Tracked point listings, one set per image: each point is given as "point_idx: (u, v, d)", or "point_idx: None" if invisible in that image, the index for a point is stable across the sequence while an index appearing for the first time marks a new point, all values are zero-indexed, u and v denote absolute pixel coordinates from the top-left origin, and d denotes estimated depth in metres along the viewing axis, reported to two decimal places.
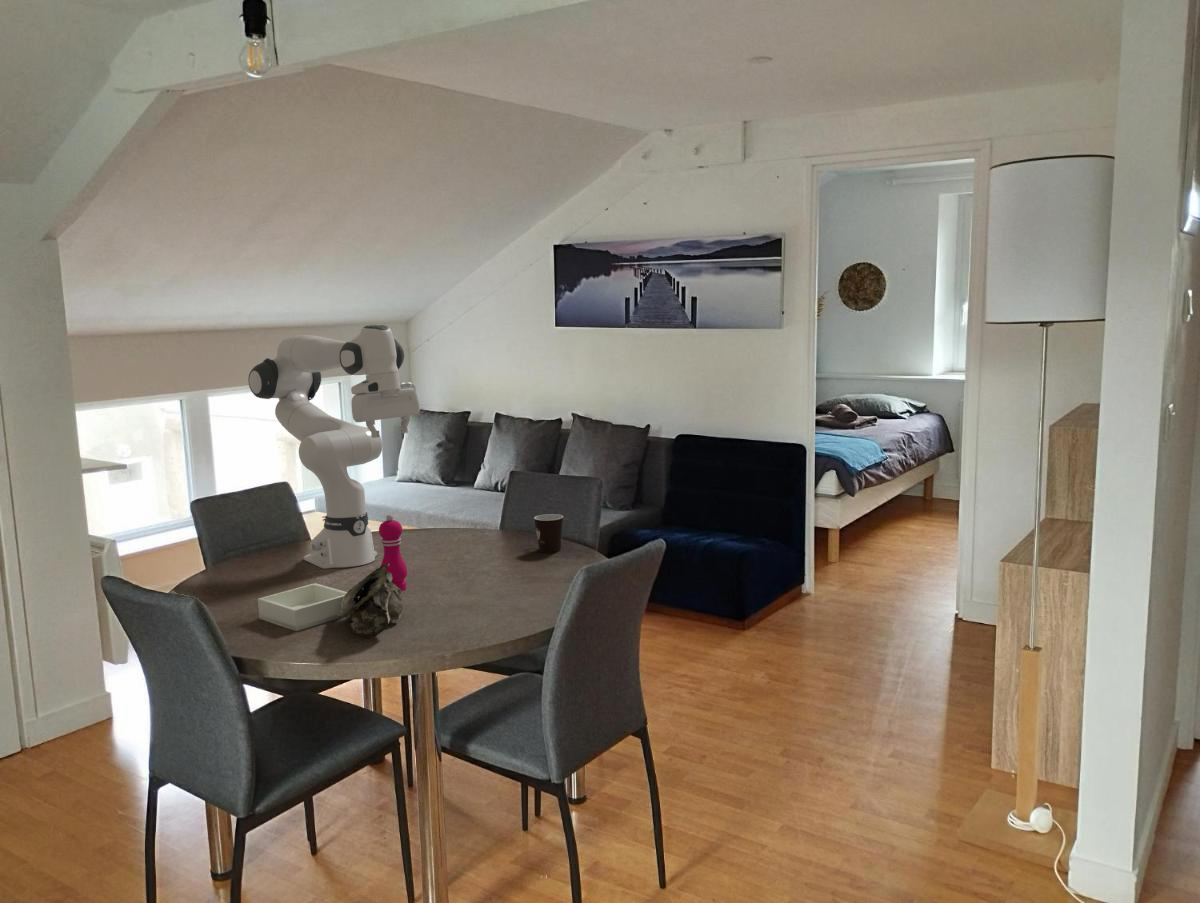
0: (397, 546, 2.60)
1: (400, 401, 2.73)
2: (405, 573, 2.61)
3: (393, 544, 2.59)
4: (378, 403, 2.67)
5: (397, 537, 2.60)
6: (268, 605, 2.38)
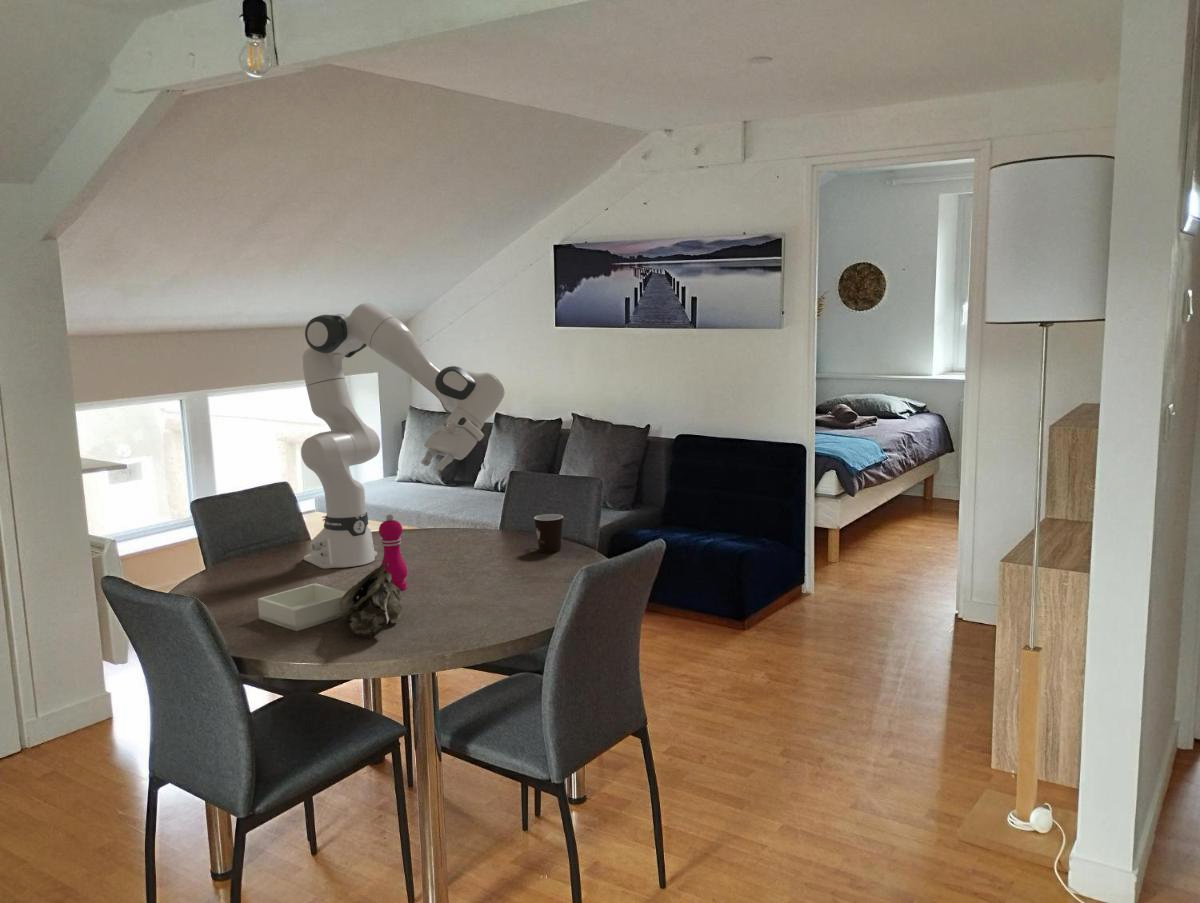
0: (397, 546, 2.60)
1: None
2: (405, 573, 2.61)
3: (393, 544, 2.59)
4: None
5: (397, 537, 2.60)
6: (268, 605, 2.38)
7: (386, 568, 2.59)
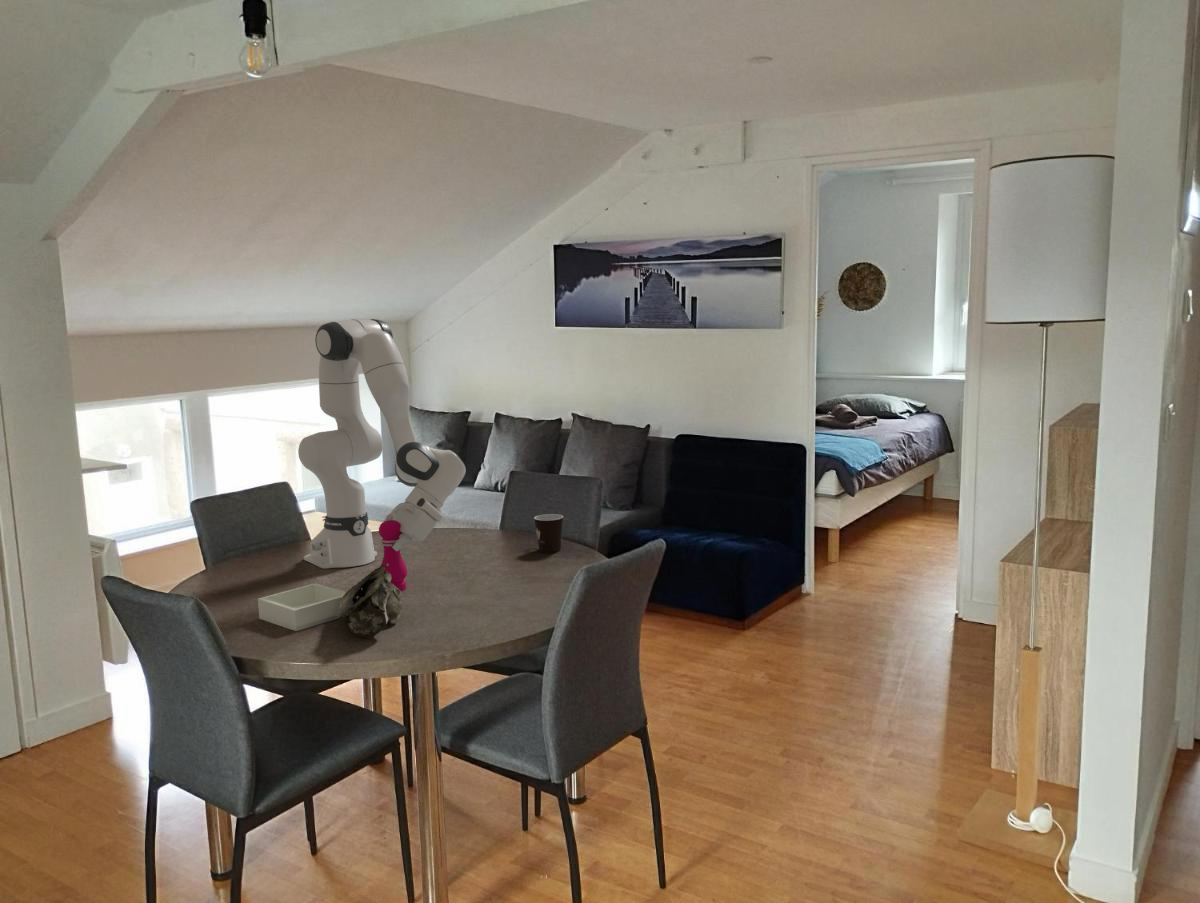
0: None
1: None
2: (405, 573, 2.61)
3: None
4: None
5: (397, 537, 2.60)
6: (268, 605, 2.38)
7: (386, 568, 2.59)
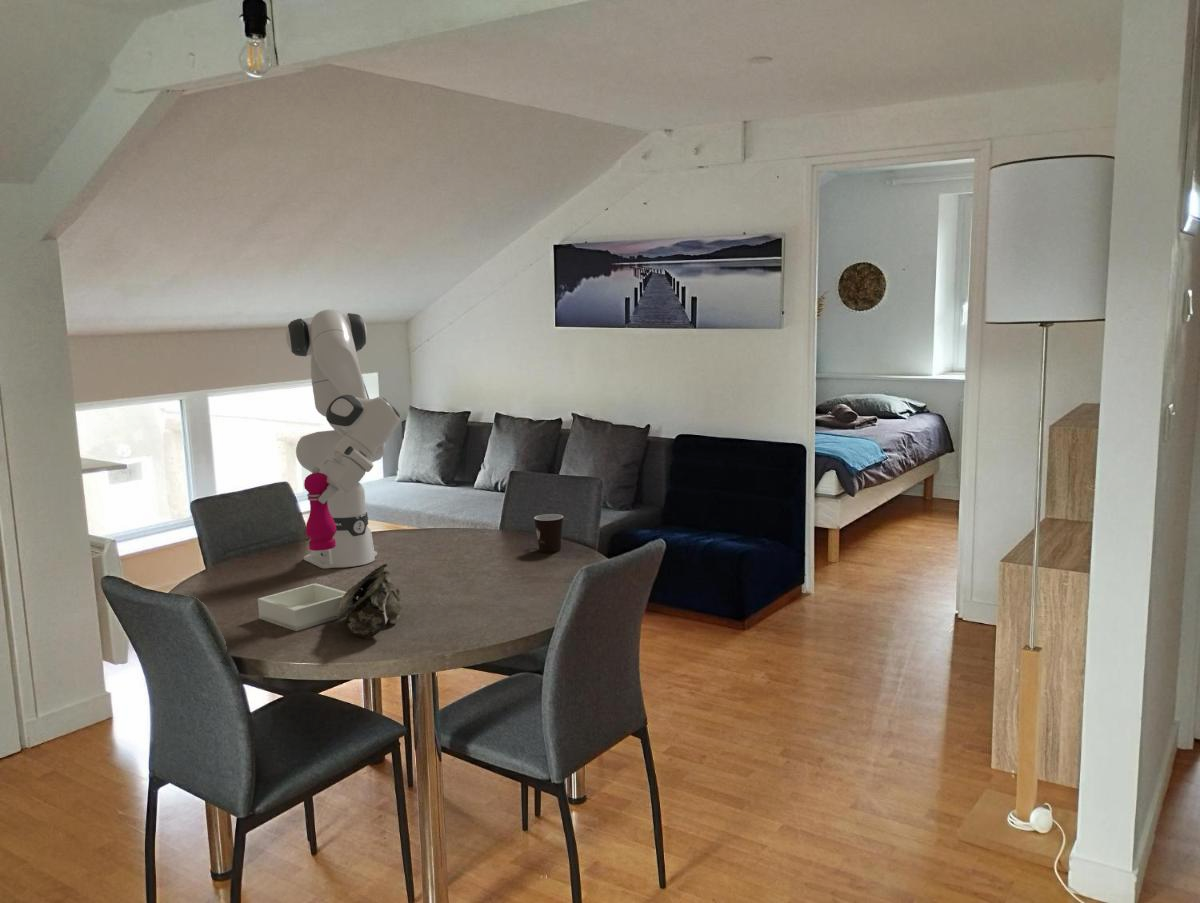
0: None
1: None
2: (333, 530, 2.42)
3: None
4: None
5: None
6: (268, 605, 2.38)
7: (312, 524, 2.40)
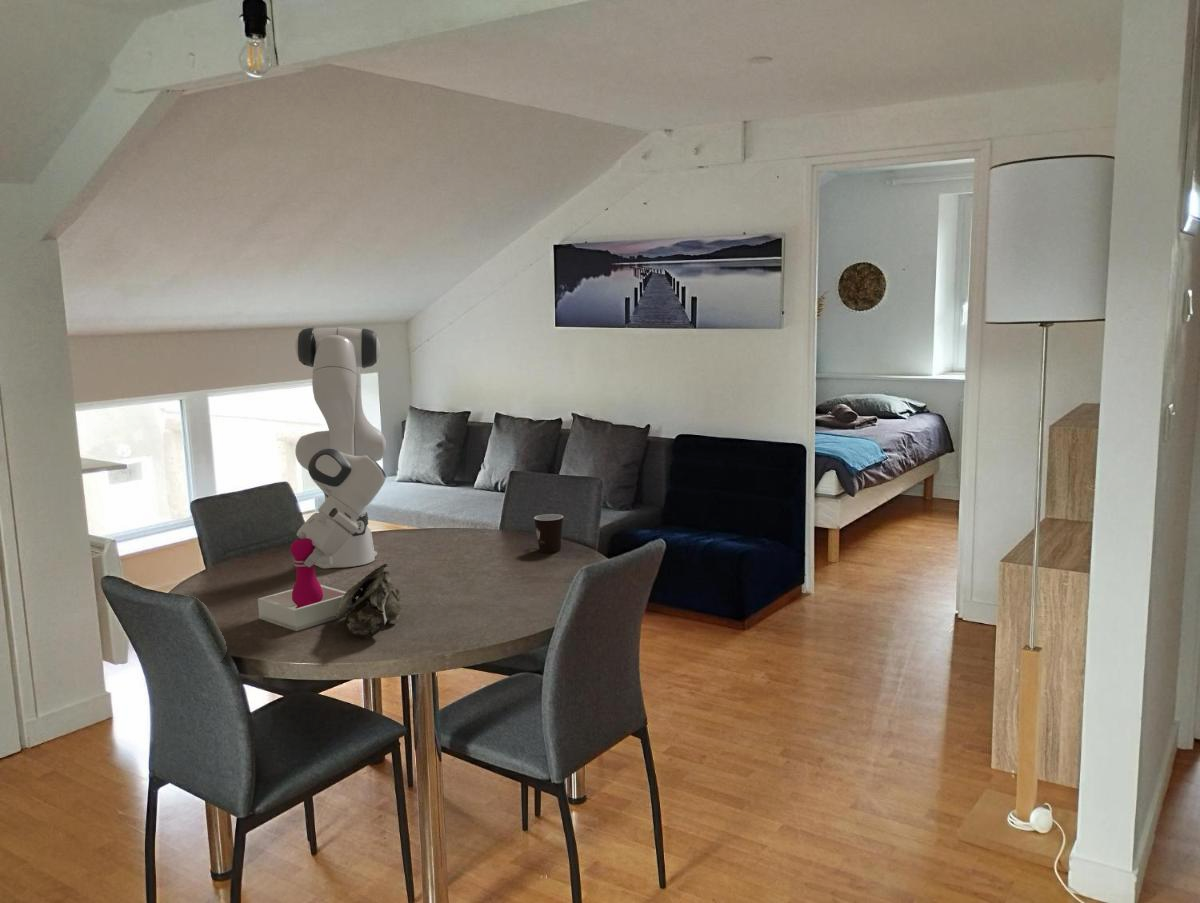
0: (311, 566, 2.38)
1: None
2: (320, 596, 2.39)
3: None
4: None
5: None
6: (268, 605, 2.38)
7: (298, 591, 2.37)
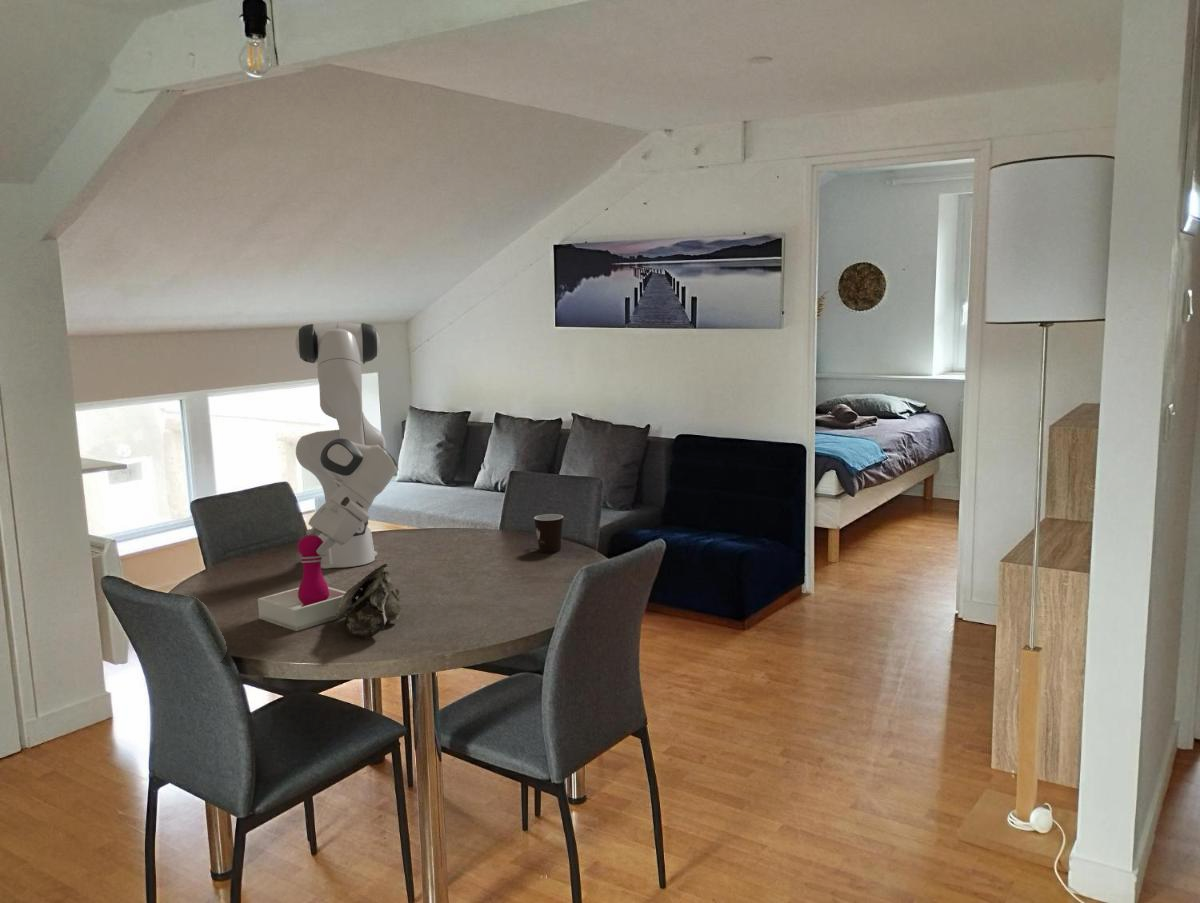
0: (317, 563, 2.39)
1: None
2: (326, 593, 2.39)
3: (313, 560, 2.38)
4: None
5: (317, 553, 2.39)
6: (268, 605, 2.38)
7: (305, 587, 2.37)
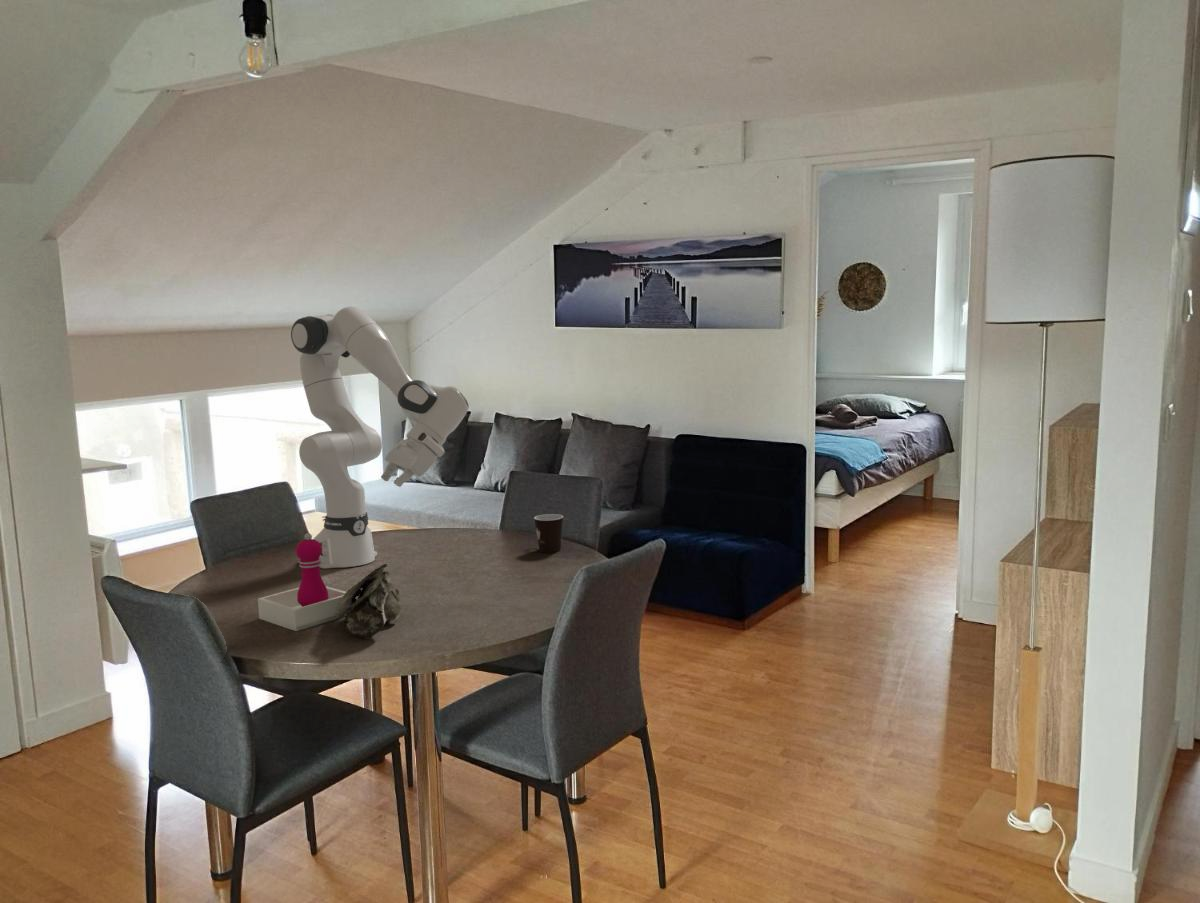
0: (316, 568, 2.37)
1: None
2: (325, 597, 2.38)
3: (312, 566, 2.36)
4: None
5: (316, 558, 2.37)
6: (268, 605, 2.38)
7: (304, 592, 2.36)
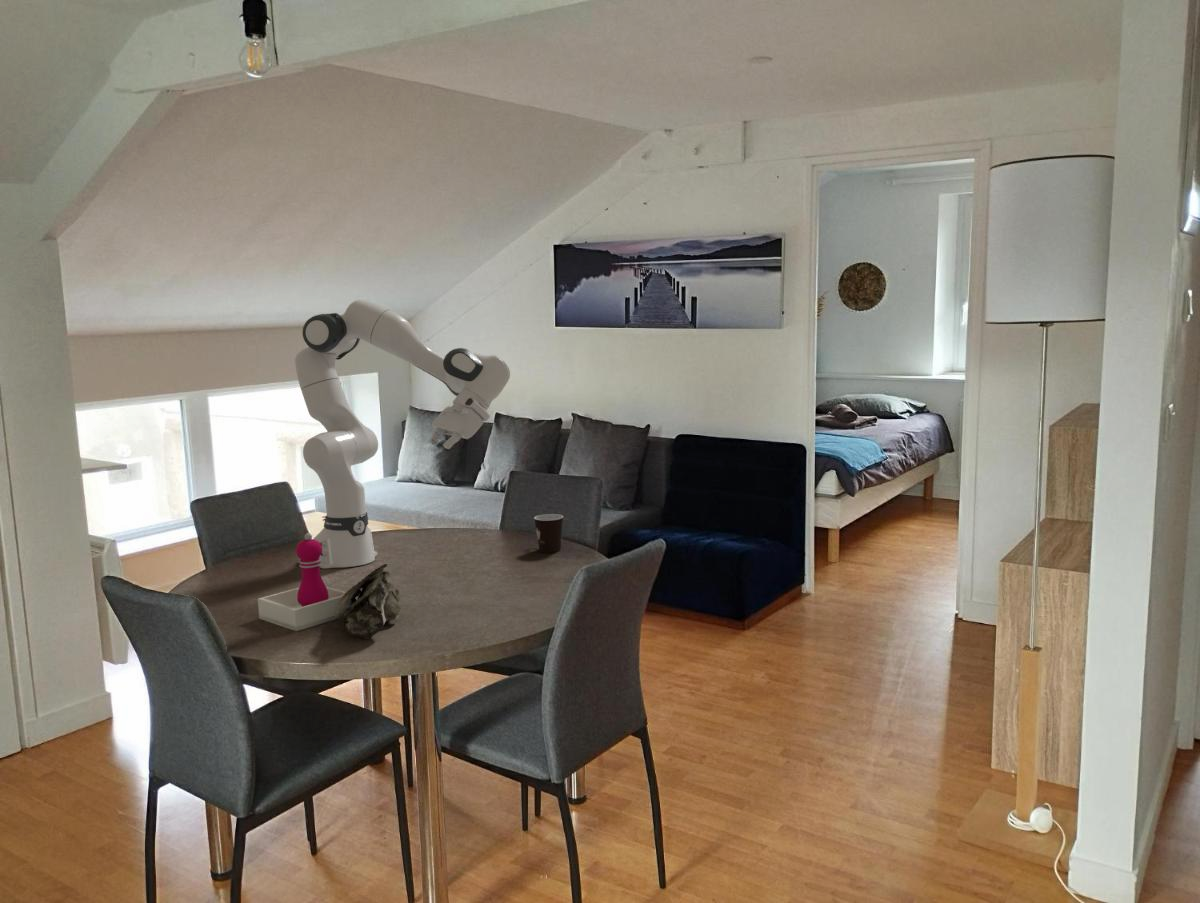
0: (316, 568, 2.37)
1: None
2: (325, 597, 2.38)
3: (312, 566, 2.36)
4: None
5: (316, 558, 2.37)
6: (268, 605, 2.38)
7: (304, 592, 2.36)
